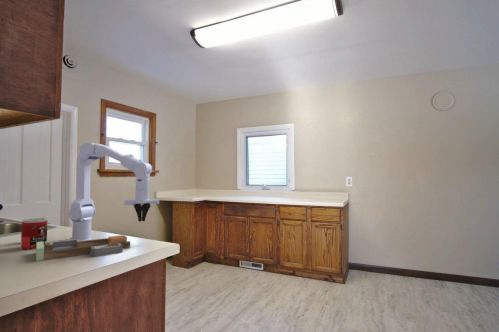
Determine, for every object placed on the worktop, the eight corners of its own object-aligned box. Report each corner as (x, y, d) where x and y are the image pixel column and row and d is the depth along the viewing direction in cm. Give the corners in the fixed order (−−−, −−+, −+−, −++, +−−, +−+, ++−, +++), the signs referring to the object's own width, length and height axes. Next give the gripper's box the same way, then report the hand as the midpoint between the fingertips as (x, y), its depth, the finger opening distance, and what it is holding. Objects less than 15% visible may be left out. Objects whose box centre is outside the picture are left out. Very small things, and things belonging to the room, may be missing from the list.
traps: (49, 248, 108) (49, 242, 109) (110, 241, 122) (110, 235, 122) (51, 262, 91) (51, 254, 91) (122, 252, 104) (122, 245, 105)
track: (42, 252, 103) (43, 245, 103) (122, 242, 120) (122, 236, 120) (43, 259, 94) (43, 252, 94) (130, 247, 111) (130, 241, 111)
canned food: (31, 250, 106) (33, 221, 106) (15, 249, 107) (16, 220, 108) (50, 245, 113) (51, 218, 114) (34, 244, 115) (35, 217, 115)
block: (107, 246, 114) (108, 236, 114) (123, 244, 118) (123, 234, 118) (110, 249, 109) (110, 239, 109) (126, 247, 113) (126, 237, 113)
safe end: (36, 252, 102) (36, 242, 102) (42, 252, 103) (43, 241, 103) (36, 260, 93) (36, 249, 93) (43, 259, 94) (44, 248, 94)
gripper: (127, 190, 113) (126, 224, 112) (162, 190, 122) (161, 220, 121) (123, 189, 118) (122, 221, 118) (156, 189, 127) (155, 218, 127)
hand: (141, 221), depth 120 cm, fingers closed
